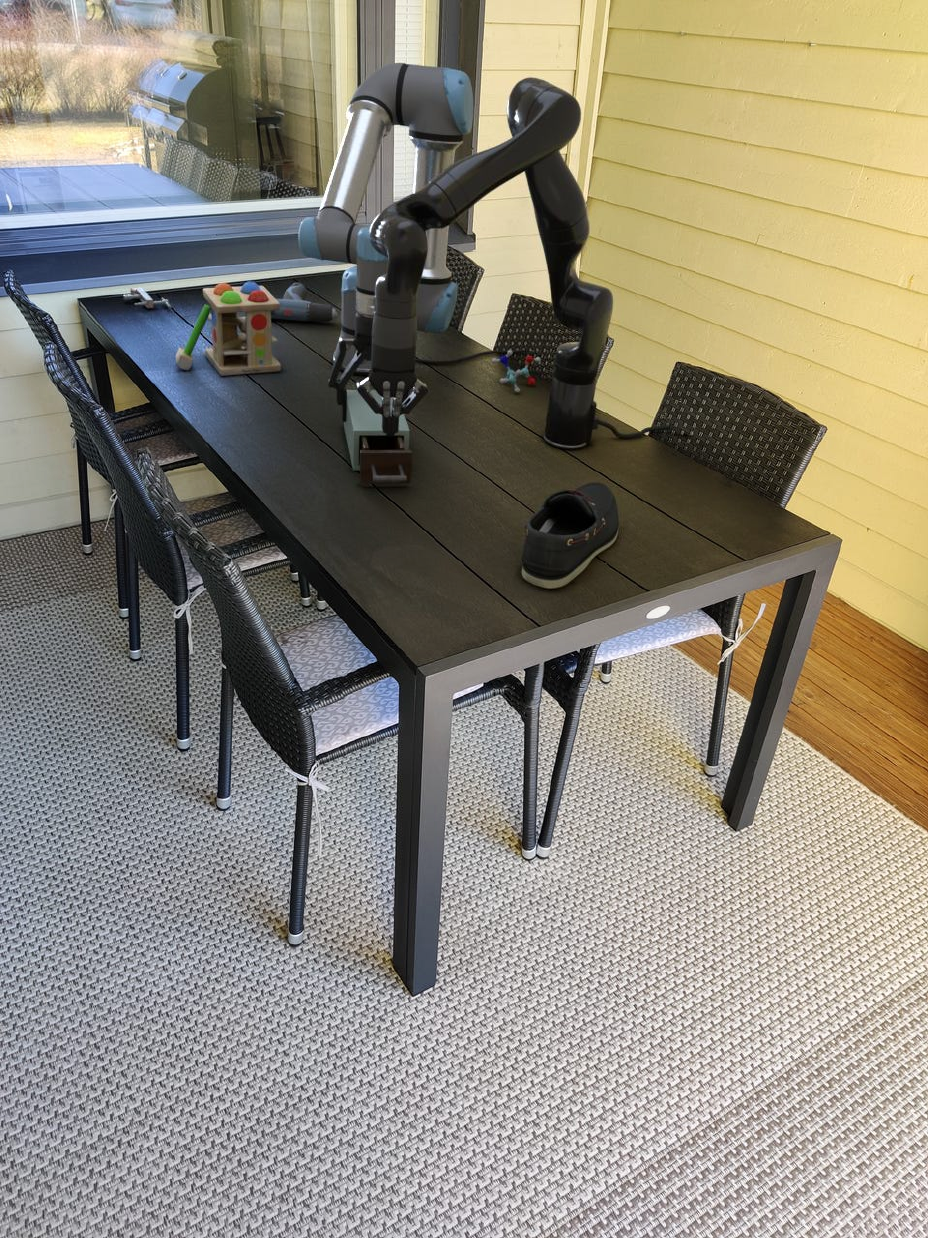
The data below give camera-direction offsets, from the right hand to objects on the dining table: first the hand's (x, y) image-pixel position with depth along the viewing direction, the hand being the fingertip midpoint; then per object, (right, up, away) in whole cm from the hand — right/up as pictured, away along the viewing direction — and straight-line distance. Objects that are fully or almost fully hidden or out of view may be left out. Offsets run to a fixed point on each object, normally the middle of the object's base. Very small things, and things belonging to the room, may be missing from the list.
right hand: (390, 434), depth 175 cm
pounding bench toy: (-43, +27, +55) cm, 75 cm away
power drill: (-30, +50, +92) cm, 109 cm away
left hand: (-6, +8, +27) cm, 29 cm away
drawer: (-3, -4, +15) cm, 15 cm away
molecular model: (+25, +23, +60) cm, 68 cm away
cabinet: (-5, +2, +24) cm, 25 cm away
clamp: (-72, +51, +87) cm, 124 cm away
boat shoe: (+32, -20, -2) cm, 38 cm away
